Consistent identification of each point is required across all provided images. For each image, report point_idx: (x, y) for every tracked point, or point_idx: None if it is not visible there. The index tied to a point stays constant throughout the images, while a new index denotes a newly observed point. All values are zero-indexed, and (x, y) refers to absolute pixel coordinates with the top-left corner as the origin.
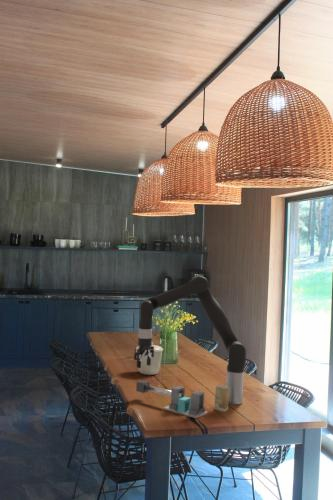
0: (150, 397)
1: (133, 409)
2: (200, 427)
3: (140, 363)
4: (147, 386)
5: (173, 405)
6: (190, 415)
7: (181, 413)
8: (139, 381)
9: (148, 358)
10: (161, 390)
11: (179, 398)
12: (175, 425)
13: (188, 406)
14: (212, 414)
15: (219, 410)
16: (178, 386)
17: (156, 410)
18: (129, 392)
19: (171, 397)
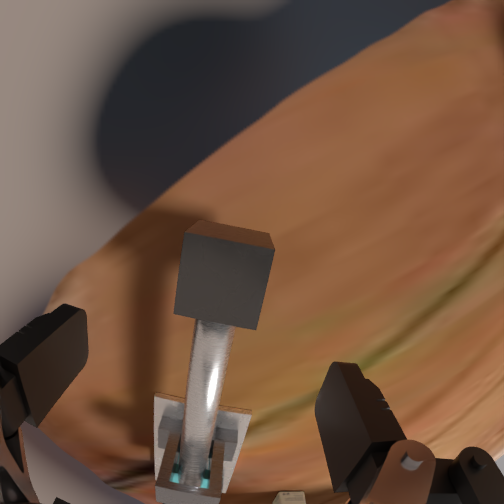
0: (299, 268)
1: (63, 288)
2: (107, 482)
3: (44, 398)
4: (199, 326)
5: (158, 440)
6: (155, 469)
7: (154, 449)
8: (211, 248)
9: (363, 469)
10: (185, 419)
11: (174, 474)
12: (66, 441)
13: (208, 467)
14: (226, 496)
15: (274, 499)
16: (208, 499)
17: (121, 375)
18: (322, 108)
19: (164, 452)
